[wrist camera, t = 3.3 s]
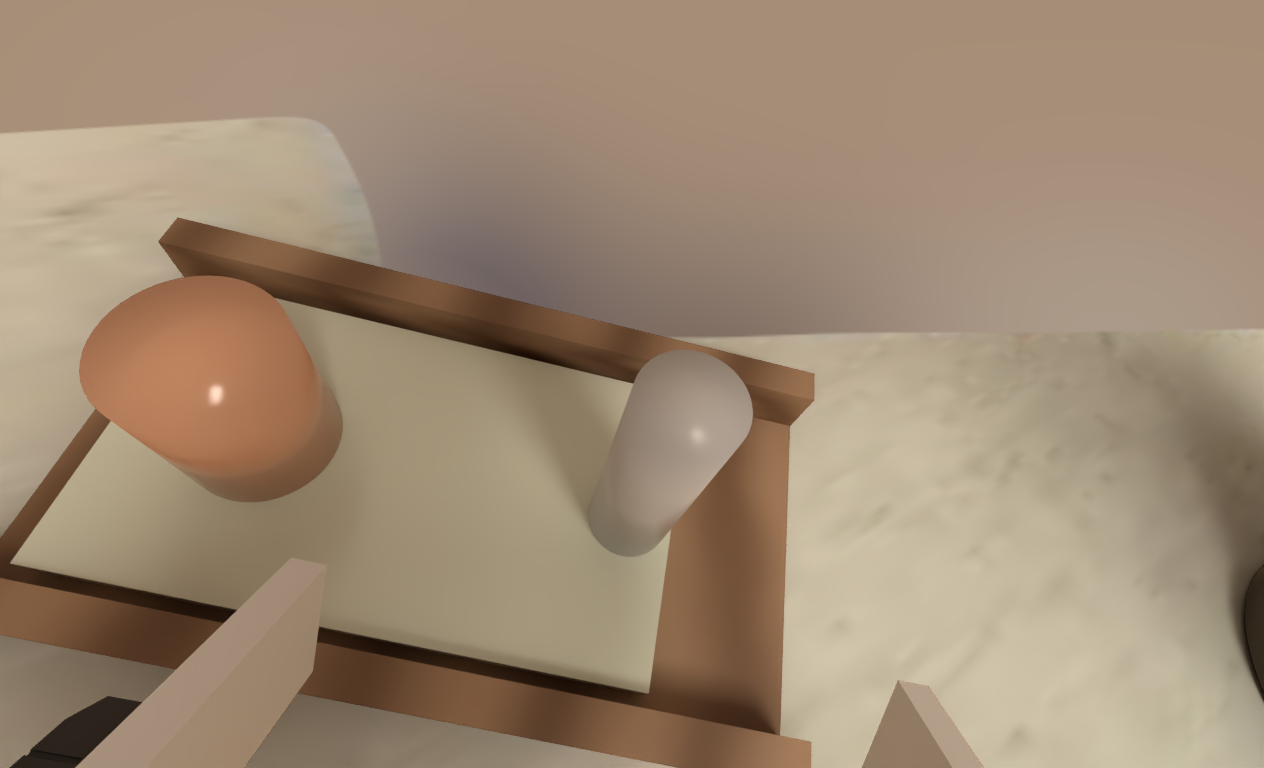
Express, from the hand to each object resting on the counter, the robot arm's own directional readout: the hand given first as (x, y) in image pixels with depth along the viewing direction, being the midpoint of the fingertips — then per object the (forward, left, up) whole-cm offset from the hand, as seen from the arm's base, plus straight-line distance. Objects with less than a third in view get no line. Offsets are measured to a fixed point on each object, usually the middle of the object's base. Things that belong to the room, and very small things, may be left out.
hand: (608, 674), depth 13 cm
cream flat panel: (+11, +4, -12) cm, 17 cm away
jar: (+14, +9, -11) cm, 20 cm away
